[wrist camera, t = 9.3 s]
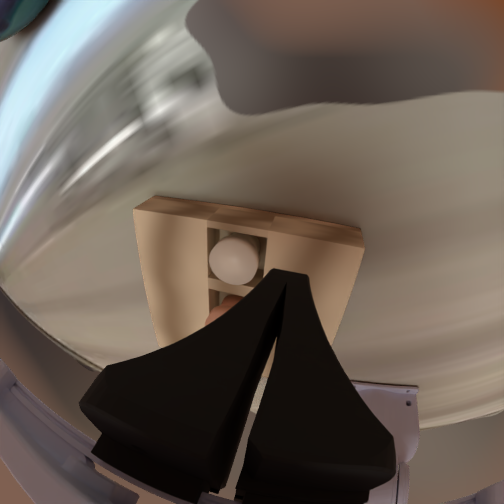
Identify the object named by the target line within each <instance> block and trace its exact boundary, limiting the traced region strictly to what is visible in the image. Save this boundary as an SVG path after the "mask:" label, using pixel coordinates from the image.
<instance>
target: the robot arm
mask: <svg viewBox="0 0 504 504" xmlns="http://www.w3.org/2000/svg"><path fill="white" fill-rule="evenodd" d="M276 337H277V339H276ZM275 340H276V345H275V352H274V358H273V363H272V366H271V370H270V373H269V377H268V380H267V383H266V386H265V390H264V393H263V396H262V399H261V402H260V405H259V408H258V411H257V414H256V417H255V420H254V423H253V426H252V429H251V432H250V435H249V437H248V443H247V448H246V453H245V459H244V464H243V467H242V471H241V473H240V476H239V479H238V482H237V485H236V494H235V497H234V501H233V500H229V499H225V498H222V497H218V496H214V495H211V494H208V493H209V491H210V492H213V493H216V494H218V493H219V491H220V489H222V488H224V487H225V486H226V483H227V480H228V477H229V474H230V471H231V468H232V465H233V462H234V459H235V455H236V452H237V449H238V446H239V443H240V440H241V437H242V433H243V430H244V427H245V424H246V421H247V417H248V414H249V411H250V408H251V404H252V401H253V398H254V394H255V392H256V389H257V386H258V383H259V381H260V379H261V376H262V374H263V371H264V369H265V366H266V364H267V361H268V358H269V356H270V353H271V351H272V348H273V345H274V343H275ZM418 391H419V388H418V387H408V386H393V385H380V384H370V383H361V382H352V381H350V380H349V378H348V376H347V375H346V373H345V372H344V370H343V368H342V366H341V365H340V363H339V361H338V359H337V357H336V355H335V353H334V351H333V349H332V347H331V345H330V343H329V341H328V339H327V336H326V334H325V332H324V329H323V327H322V324H321V321H320V319H319V316H318V313H317V310H316V307H315V303H314V300H313V296H312V292H311V287H310V279H309V276H308V275H307V274H302V273H297V272H292V271H286V270H281V269H276V268H273V269H271V270H270V271H269V272H268V273H267V274H266V276H265V277H264V278H263V279H262V280H261V281H260V282H259V283H258V284H257V285H256V286H255V287H254V288H253V289H252V290H251V291H250V292H249V293H248V294H247V295H246V296H245V297H244V298H242V299H241V300H240V301H239V302H238V303H236V304H235V305H234V306H233V307H231V308H230V309H229V310H228V311H226V312H225V313H224V314H222V315H221V316H220V317H218V318H217V319H215V320H214V321H212V322H211V323H209V324H208V325H206V326H205V327H203V328H201V329H200V330H198V331H196V332H194V333H192V334H191V335H189V336H187V337H185V338H183V339H181V340H179V341H177V342H175V343H173V344H170V345H168V346H166V347H163V348H161V349H159V350H156V351H154V352H151V353H149V354H146V355H143V356H140V357H137V358H133V359H130V360H126V361H123V362H119V363H115V364H111V365H107V366H106V367H105V368H104V370H103V371H102V372H101V373H100V374H99V375H98V376H97V378H96V379H95V380H94V382H93V383H92V385H91V386H90V388H89V389H88V390H87V392H86V393H85V394H84V396H83V397H82V399H81V400H80V402H79V406H80V409H81V411H82V412H83V413H84V414H85V415H86V417H87V418H88V419H89V420H90V421H91V422H92V423H93V424H94V425H95V426H96V427H97V428H98V429H99V430H100V431H101V432H102V435H101V436H100V438H99V439H98V441H97V442H96V441H94V440H93V439H91V438H89V437H88V436H86V435H85V434H83V433H82V432H80V431H79V430H78V429H76V428H75V427H73V426H72V425H70V424H69V423H68V422H66V421H65V420H64V419H62V418H61V417H60V416H59V415H57V414H56V413H54V412H53V411H52V410H51V409H50V408H48V407H47V406H46V405H45V404H44V403H43V402H41V401H40V400H39V399H38V398H37V397H35V396H34V395H33V394H32V393H31V392H30V391H29V390H28V389H27V388H26V387H25V386H23V384H22V383H20V382H19V381H18V380H17V378H16V376H15V375H14V374H13V372H12V371H11V370H10V369H9V367H8V366H7V365H6V364H5V363H4V362H3V361H2V360H1V358H0V457H1V459H2V460H3V462H4V463H5V465H6V466H7V468H8V469H9V471H10V472H11V474H12V475H13V476H14V478H15V479H16V481H17V482H18V483H19V485H20V486H21V487H22V488H23V490H24V491H25V492H26V493H27V495H28V496H29V497H30V498H31V499H32V501H33V502H34V503H35V504H136V503H137V500H138V499H139V495H138V494H137V493H135V492H133V491H131V490H129V489H127V488H125V487H124V486H122V485H120V484H118V483H116V482H115V481H113V480H111V479H109V478H107V477H106V476H104V475H102V474H101V473H99V472H98V471H96V469H95V464H94V462H95V463H97V464H99V465H100V466H102V467H103V468H105V469H107V470H109V471H110V472H112V473H114V474H115V475H117V476H119V477H121V478H123V479H124V480H126V481H128V482H130V483H132V484H134V485H136V486H138V487H140V488H142V489H144V490H146V491H148V492H150V493H152V494H155V495H157V496H159V497H161V498H164V499H166V500H169V501H171V502H173V503H176V504H395V503H396V504H407V502H408V494H409V465H407V464H405V463H407V462H408V461H409V460H410V459H411V458H412V457H413V456H414V454H415V452H416V450H417V447H418V443H419V436H420V431H419V418H418V408H417V399H416V394H417V393H418ZM93 461H94V462H93ZM398 465H399V471H398ZM397 477H398V480H397ZM440 504H504V480H502V481H500V482H497V483H495V484H493V485H490V486H488V487H486V488H484V489H482V490H480V491H478V492H477V493H475V494H472V495H469V496H466V497H463V498H459V499H456V500H452V501H449V502H445V503H440Z"/></svg>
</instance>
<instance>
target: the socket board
mask: <svg viewBox="0 0 504 504" xmlns="http://www.w3.org/2000/svg"><path fill="white" fill-rule="evenodd" d="M133 215H134V223H135V231H136V238H137V245H138V251H139V257H140V263H141V269H142V274H143V280H144V285H145V290H146V295H147V299H148V304H149V308H150V313H151V317H152V321H153V326H154V330H155V334H156V337H157V341H158V345H159V346H160V347H166V346H168V345H170V344H173V343H175V342H177V341H179V340H181V339H183V338H185V337H187V336H189V335H191V334H192V333H194V332H196V331H198V330H200V329H201V328H203V327H205V321H206V319H207V317H208V316H209V314H210V312H211V310H212V309H213V308H215V307H217V306H220V305H221V303H222V301H223V299H224V298H225V297H226V296H228V295H238V296H241V297H243V298H244V297H245V296H246V295H247V294H248V293H249V292H250V291H251V290H252V289H253V288H254V287H255V286H256V285H257V284H258V283H259V282H260V281H261V280H262V279H263V278H264V277H265V276H266V274H267V273H268V272H269V271H270V270H271V269H273V268H276V269H281V270H286V271H292V272H297V273H302V274H307V275H308V276H309V279H310V287H311V292H312V296H313V300H314V303H315V307H316V310H317V313H318V316H319V319H320V321H321V324H322V327H323V329H324V332H325V334H326V336H327V339H328V341H329V343H330V345H332V343H333V340H334V338H335V335H336V333H337V330H338V328H339V325H340V322H341V320H342V317H343V314H344V312H345V309H346V306H347V303H348V300H349V298H350V295H351V292H352V289H353V286H354V283H355V280H356V277H357V274H358V270H359V267H360V264H361V261H362V257H363V254H364V251H365V246H364V242H363V238H362V233H361V229H360V228H355V227H350V226H345V225H340V224H335V223H330V222H324V221H319V220H314V219H308V218H303V217H297V216H291V215H285V214H280V213H274V212H268V211H261V210H255V209H249V208H242V207H236V206H229V205H222V204H215V203H208V202H200V201H193V200H185V199H177V198H169V197H161V196H153V197H152V198H150V199H148V200H147V201H145V202H143V203H142V204H140V205H138V206H137V207H135V208H134V209H133ZM233 232H238V233H243V234H249V235H255V236H256V237H257V238H258V240H259V242H260V250H259V256H260V263H259V267H258V269H257V271H256V273H255V275H254V277H253V278H252V280H251V281H249V282H248V283H246V284H242V285H232V284H228V283H226V282H224V281H222V280H220V279H219V278H218V277H217V276H216V275H215V274H214V273H213V271H212V269H211V267H210V264H209V255H210V252H211V251H212V249H213V248H214V247H215V245H216V244H217V243H218V242H219V241H220V240H221V239H222V238H224V237H226V236H230V235H231V234H232V233H233ZM276 339H277V337H276ZM275 345H276V340H275V343H274V345H273V348H272V351H271V353H270V356H269V358H268V361H267V364H266V366H265V369H264V371H263V374H262V377H266V378H268V377H269V373H270V370H271V366H272V363H273V358H274V352H275Z"/></svg>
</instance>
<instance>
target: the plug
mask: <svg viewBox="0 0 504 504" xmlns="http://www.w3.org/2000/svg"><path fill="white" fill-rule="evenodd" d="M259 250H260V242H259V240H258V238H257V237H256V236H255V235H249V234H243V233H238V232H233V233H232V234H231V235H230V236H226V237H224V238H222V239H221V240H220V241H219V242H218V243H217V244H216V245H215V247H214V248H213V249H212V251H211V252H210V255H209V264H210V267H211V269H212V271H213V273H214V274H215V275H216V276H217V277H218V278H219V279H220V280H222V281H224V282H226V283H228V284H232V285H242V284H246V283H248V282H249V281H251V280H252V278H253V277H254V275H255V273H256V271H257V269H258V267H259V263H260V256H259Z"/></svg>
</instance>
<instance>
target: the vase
mask: <svg viewBox="0 0 504 504" xmlns="http://www.w3.org/2000/svg"><path fill="white" fill-rule="evenodd" d="M49 1H50V0H0V42H2V41H4V40H6V39H8V38H10V37H12V36H13V35H15V34H17V33H18V32H20V31H21V30H23V29H24V28H25V27H26V26H27V25H29V24H30V23H31V22H32V21H33V20H34V19H35V18H36V17H37V16H38V15H39V13H40V12H41V11H42V10H43V9H44V7H45V6H46V5H47V3H48V2H49Z"/></svg>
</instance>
